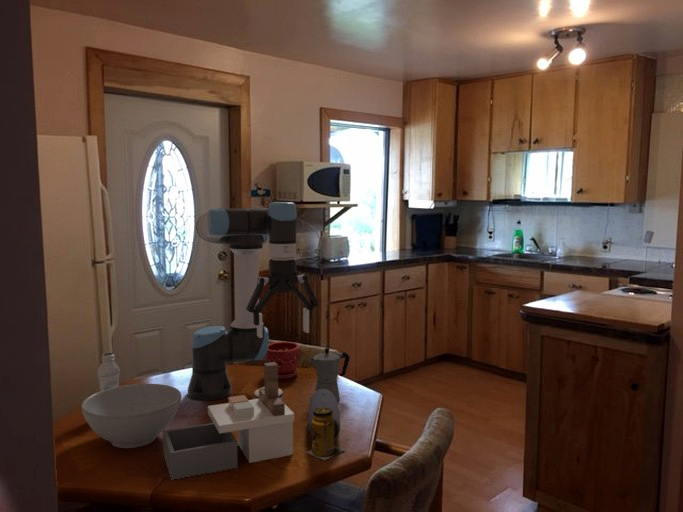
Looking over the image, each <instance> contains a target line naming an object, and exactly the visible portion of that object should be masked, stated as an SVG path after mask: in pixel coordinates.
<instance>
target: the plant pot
mask: <svg viewBox="0 0 683 512" xmlns="http://www.w3.org/2000/svg"><path fill="white" fill-rule="evenodd" d="M286 349H287V350H286ZM265 358H266V359H265V360H266V363H271V362H275V363H276V364H277V365H278V380H279V379H281V380H285V379H286V380H287V379H291V378H293V377H295V376H296V375H297V374H298V373H299V369H298V368H297V367H298V365H299V361H300V345H299V344H298V343H296V342H291V341H278V342H274V343H270V344H269V345H268V350H267V353H266V355H265Z"/></svg>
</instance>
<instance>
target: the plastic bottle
mask: <svg viewBox="0 0 683 512" xmlns="http://www.w3.org/2000/svg"><path fill="white" fill-rule="evenodd" d="M115 358H116V356H115V353H114V352H106V353H102V354H101V362H102V363H101V364H100V365H99V367H98V369H97V376H98V383H99V388H100V389H99V390H100V391H103V390H107V389H110V388H114V387H119V386H120V385H119V384H120V383H119V381H120V380H119V379H120V367H119V366H118V364H117V363H116V362H115V360H116V359H115Z"/></svg>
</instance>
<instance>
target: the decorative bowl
mask: <svg viewBox="0 0 683 512" xmlns="http://www.w3.org/2000/svg"><path fill="white" fill-rule="evenodd" d="M181 400H182V393H181V391H180V390H179V389H178V388H175V387H174V386H171V385H167V384H161V383H135V384H133V383H132V384H125V385H118V387H114V388H110V389H107V390H103V391H101V390H100V391H97V392H96V393H93V394H92V395H90V396H88V397H87V398H85V399H84V401H82V403H81V406H80V407H81V412H82V415H83V417H84V418H85V421H86V422H87V424H88V425H89V427H90V428H91V430H92V431H93V432H94V433H96V435H97V436H99V437H100V438H102V439H104V440H105V441H108V442H110V443H111V445H112V446H113V447H116V448H120V449H134V448H139V447H143V446H146V445H149V444H150V443H152V442H154V441H155V440H156V439H157V436H158V435H160V434H161V433H163V431H164V430H166V429H167V428H168V426H169V425H170V424H171V422H172V421H173V420H174V418H175V416H176V414H177V412H178V409H179V407H180V404H181Z"/></svg>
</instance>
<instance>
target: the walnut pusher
mask: <svg viewBox="0 0 683 512" xmlns="http://www.w3.org/2000/svg"><path fill="white" fill-rule="evenodd" d="M263 368H264V369H263V372H264V373H263V374H264V378H263V379H264V381H263V382H264V383H263V384H264V386H263V387H264V388H263V389H260V388H258V389H259V400H260V401H261V402H262V403H263V404H264V405H265V407H266V408H267V409H268V410H269V411H270V412H271V414H272V415H273V416H279V415H285V405H286V404H285V402H284V401H283V399H282V400H281V399H280V398H279V397H278V388H279V379H278V365H277V364H276V363H275V362H271V363H267V362H264V363H263Z"/></svg>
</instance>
